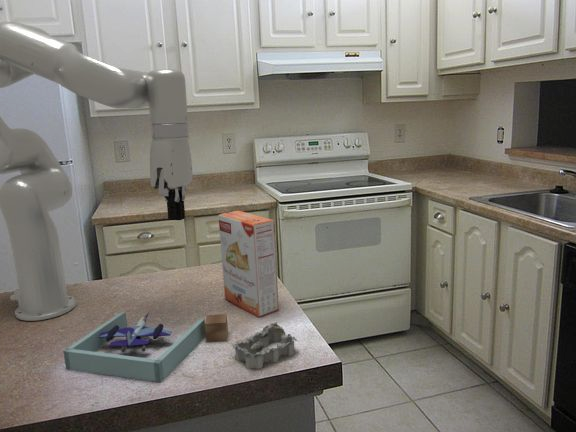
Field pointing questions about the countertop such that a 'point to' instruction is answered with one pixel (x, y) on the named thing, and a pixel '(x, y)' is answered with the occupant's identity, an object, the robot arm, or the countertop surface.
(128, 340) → the toy airplane
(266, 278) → the cracker box
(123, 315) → the green u-shaped frame
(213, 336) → the walnut block
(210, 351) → the countertop surface
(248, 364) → the egg carton
